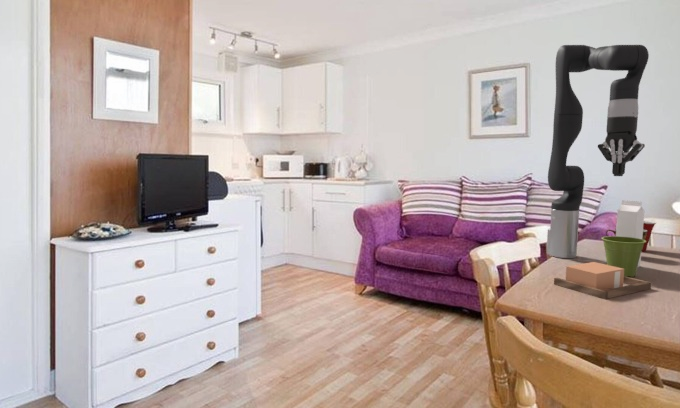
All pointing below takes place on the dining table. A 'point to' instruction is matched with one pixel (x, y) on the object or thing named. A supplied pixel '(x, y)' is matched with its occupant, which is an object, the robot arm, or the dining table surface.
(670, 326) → the dining table surface
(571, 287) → the tray
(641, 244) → the plant pot
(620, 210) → the milk
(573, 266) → the carton
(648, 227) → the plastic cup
